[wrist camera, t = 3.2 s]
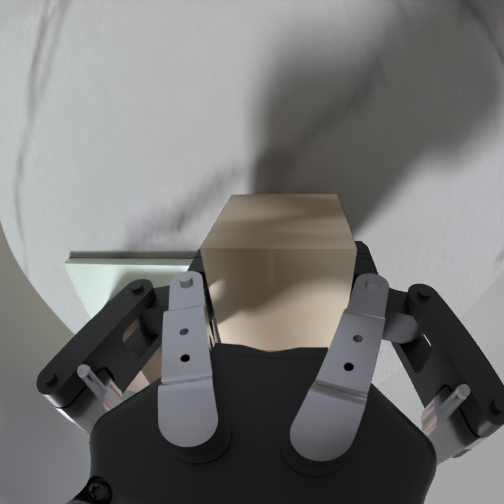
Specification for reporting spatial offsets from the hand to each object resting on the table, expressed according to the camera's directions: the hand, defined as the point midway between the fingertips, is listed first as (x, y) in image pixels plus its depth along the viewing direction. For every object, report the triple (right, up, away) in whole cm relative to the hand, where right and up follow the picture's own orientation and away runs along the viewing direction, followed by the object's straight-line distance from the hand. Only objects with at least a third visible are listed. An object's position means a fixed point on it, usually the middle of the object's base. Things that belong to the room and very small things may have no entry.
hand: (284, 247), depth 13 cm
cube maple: (0, 0, +1) cm, 1 cm away
